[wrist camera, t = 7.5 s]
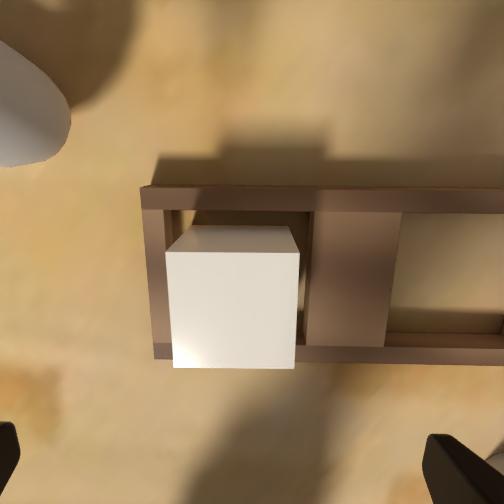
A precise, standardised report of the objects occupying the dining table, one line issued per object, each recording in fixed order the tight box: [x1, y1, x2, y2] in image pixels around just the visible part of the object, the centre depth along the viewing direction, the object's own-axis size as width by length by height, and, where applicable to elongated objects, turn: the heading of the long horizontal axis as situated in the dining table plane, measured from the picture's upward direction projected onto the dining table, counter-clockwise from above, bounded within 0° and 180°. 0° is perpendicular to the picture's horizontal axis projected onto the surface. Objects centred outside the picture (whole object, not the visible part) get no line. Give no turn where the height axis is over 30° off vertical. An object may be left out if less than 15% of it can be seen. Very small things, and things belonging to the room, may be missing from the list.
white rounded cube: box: [165, 225, 300, 369], centre depth 15 cm, size 5×5×5 cm
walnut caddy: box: [140, 185, 504, 366], centre depth 17 cm, size 9×20×2 cm, turn 90°
